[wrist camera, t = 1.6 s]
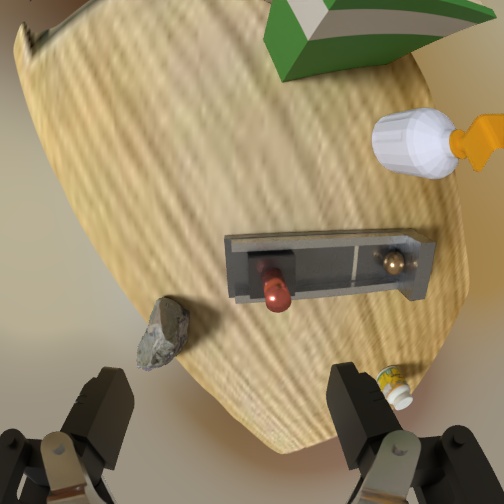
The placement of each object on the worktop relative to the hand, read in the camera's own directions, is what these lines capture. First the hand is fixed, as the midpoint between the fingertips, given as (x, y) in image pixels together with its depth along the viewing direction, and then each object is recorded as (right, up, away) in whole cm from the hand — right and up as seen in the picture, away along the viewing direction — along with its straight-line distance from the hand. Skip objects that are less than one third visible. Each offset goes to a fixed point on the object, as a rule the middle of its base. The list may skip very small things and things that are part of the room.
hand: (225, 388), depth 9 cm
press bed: (+12, +4, +31) cm, 34 cm away
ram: (+3, +3, +29) cm, 30 cm away
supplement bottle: (+30, -21, +41) cm, 56 cm away
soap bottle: (+23, +22, +26) cm, 40 cm away
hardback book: (+12, +34, +21) cm, 42 cm away
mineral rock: (-14, -8, +34) cm, 38 cm away
